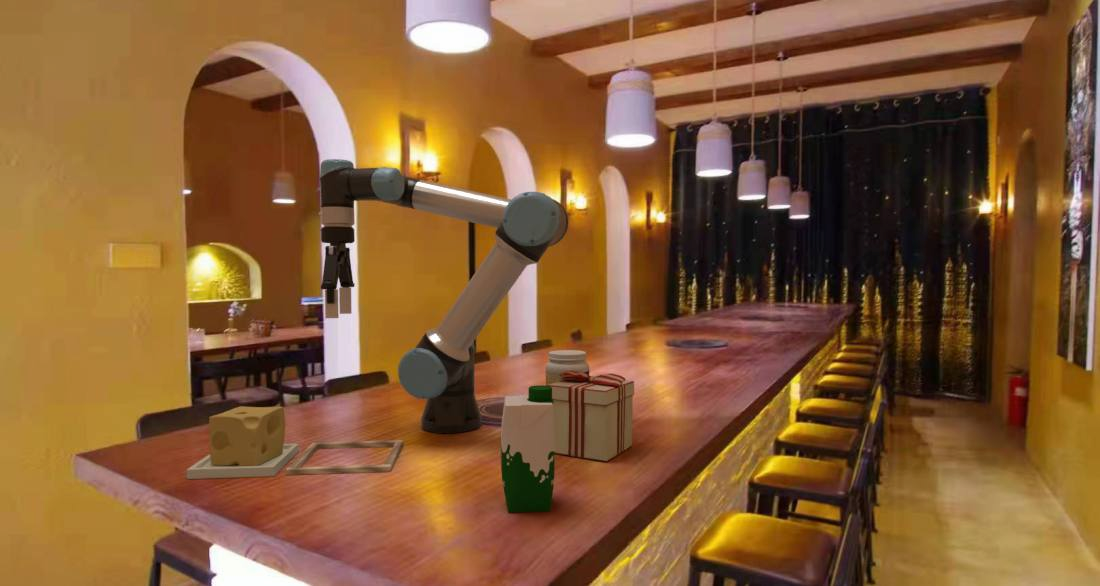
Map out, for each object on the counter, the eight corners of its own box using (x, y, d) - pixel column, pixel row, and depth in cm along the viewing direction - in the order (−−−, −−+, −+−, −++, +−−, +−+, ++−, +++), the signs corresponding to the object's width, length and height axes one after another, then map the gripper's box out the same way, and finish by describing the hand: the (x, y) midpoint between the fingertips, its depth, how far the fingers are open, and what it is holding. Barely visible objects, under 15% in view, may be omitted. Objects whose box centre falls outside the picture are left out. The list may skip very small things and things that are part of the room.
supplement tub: (590, 418, 166) (590, 355, 166) (544, 418, 167) (544, 355, 166) (588, 408, 179) (588, 349, 178) (545, 408, 179) (545, 349, 178)
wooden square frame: (403, 444, 142) (403, 440, 142) (390, 471, 123) (390, 466, 123) (312, 446, 140) (312, 442, 140) (285, 475, 121) (285, 469, 121)
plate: (298, 451, 137) (298, 443, 137) (273, 476, 121) (273, 467, 121) (222, 454, 135) (222, 445, 135) (186, 479, 119) (186, 469, 119)
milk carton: (556, 513, 103) (556, 392, 102) (501, 515, 102) (500, 393, 101) (552, 493, 111) (552, 382, 110) (501, 495, 111) (500, 383, 110)
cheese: (255, 468, 122) (254, 417, 122) (206, 465, 124) (205, 415, 124) (286, 452, 133) (285, 406, 132) (240, 450, 134) (239, 404, 134)
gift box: (639, 441, 145) (639, 367, 144) (612, 464, 128) (613, 381, 127) (571, 433, 152) (571, 362, 151) (538, 454, 135) (538, 375, 134)
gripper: (334, 229, 160) (335, 312, 161) (306, 222, 135) (307, 320, 136) (364, 229, 161) (365, 311, 162) (341, 222, 136) (343, 320, 137)
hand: (339, 315), depth 149 cm, fingers open, 13 cm apart
